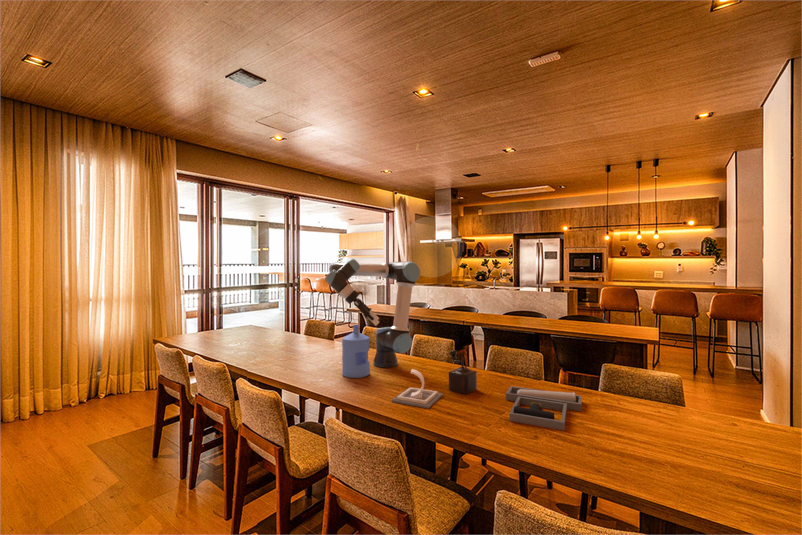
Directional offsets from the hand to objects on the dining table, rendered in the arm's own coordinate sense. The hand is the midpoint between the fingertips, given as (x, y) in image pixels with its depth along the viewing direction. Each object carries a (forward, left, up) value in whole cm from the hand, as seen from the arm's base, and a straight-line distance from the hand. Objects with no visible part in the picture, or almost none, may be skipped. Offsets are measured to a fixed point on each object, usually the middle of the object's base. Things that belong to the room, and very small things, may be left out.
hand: (377, 322), depth 202 cm
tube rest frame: (-7, +83, -32) cm, 89 cm away
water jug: (-5, -17, -32) cm, 36 cm away
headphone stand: (+15, +30, -31) cm, 45 cm away
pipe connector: (+15, +82, -32) cm, 89 cm away
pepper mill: (-7, +43, -32) cm, 54 cm away
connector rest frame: (+11, +83, -32) cm, 90 cm away
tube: (-7, +84, -32) cm, 90 cm away
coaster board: (+15, +30, -32) cm, 46 cm away
